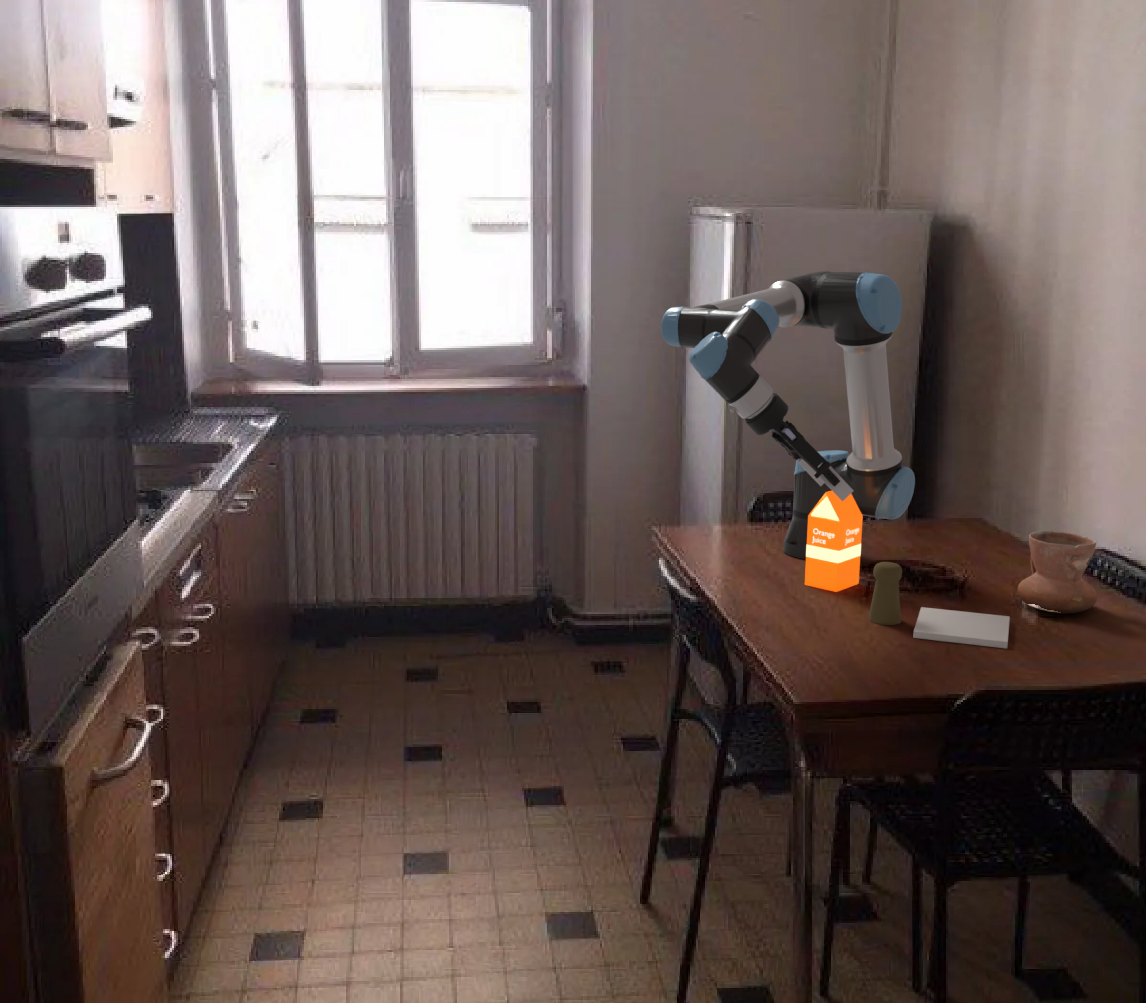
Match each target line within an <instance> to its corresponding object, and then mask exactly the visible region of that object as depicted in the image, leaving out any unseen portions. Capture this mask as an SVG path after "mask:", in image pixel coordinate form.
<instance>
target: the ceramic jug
mask: <svg viewBox="0 0 1146 1003" xmlns="http://www.w3.org/2000/svg"><path fill="white" fill-rule="evenodd" d="M1028 543H1029V544H1028V545H1029V549H1030V550H1029V552H1030V569H1031V575H1029V576H1028V577H1026V578H1024V579H1023V580H1021V581H1020V582H1019V584H1018V585H1017V595H1018V597H1019V599H1020V600H1021V601H1022V602H1023V603H1024V604H1026V605H1027V604H1035V605H1039V606H1040V607H1041V608H1044V609H1047V610H1054V611H1058V612H1061V613H1064V614H1066V615H1067V614H1069V615H1070V614H1077V613H1081V612H1085V611H1087V610H1089V609H1092V607H1094V605H1095V604H1096V603H1097V600H1098V593H1097V591H1096V589H1095V588H1094V587H1093V586H1092V585H1091V584H1090V583H1088V582H1087V581H1086V580H1085V579H1084V578H1083V577H1082V576H1083V574H1084V572H1085V571H1086V569H1087V568H1088V565H1089V564H1090V561H1091V559H1092V557H1093V555H1094V552H1095V549H1096V546H1097V540H1095V539H1094V538H1090V537H1087V536H1084V535H1080V534H1075V533H1070V532H1065V531H1054V530H1041V531H1032V532H1031V533H1030V534H1029V535H1028Z"/></svg>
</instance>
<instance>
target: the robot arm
mask: <svg viewBox="0 0 1146 1003" xmlns="http://www.w3.org/2000/svg"><path fill="white" fill-rule="evenodd" d="M901 314H903V298H902V294H901V291H900V288H899V286H898V284H897V283H896V281H895V280H894V279H893V278H892V277H890V276H889V275H886V274H882V273H874V272H872V271H871V272H869V271H867V272H861V271H860V272H858V271H857V272H853V271H851V272H850V271H849V272H848V271H847V272H845V271H829V270H828V271H827V270H826V271H823V270H822V271H816V272H810V273H805V274H801V275H798V276H794V277H790V278H787V279H782V280H778V281H776V282H775V281H774V283H772V284H771V285H770V286H769V287H768V288H766V289H763V290H759V291H754V292H750V293H747V294H742V295H739V296H734V297H730V298H727V299H721V300H719V301H715V302H711V303H710V302H709V303H707V304H702V305H697V306H689V307H687V306H684V305H683V306H674V307H673V306H672V307H670V308H669V309H667V310H666V311H665V313H664V314H663V317H662V319H661V322H660V323H661V324H660V328H661V329H660V330H661V331H660V332H661V337H662V339H663V341H664V342H665V343H666V344H667V345H669V346H671V347H679V348H681V349H684V348H685V349H686V348H687V349H692V350H691V352H690V354H689V358H688V360H689V362H690V364H691V366H692V367H693V368H694V370H696V372H697V373H698V374H699V376H700V377H701V379H703V380H704V381H705V382H706V383H707V384H708V385H709V386H710V387H711V388H712V389H713V390H714V391H715V392H716V393H717V394H718V395H719V396H720V397H721V398H722V399H723V400H724V401H725V402H726V403H727V404H728V405H729V406H731V408H730V409H729V411H730V413H731V414H733V413H736V414H738V416H739V417H740V418H741V419H745V423H746V424H747V426H748V427H750V429H751V430H752V431H753V432H754V433H755V434H756V435H758V436H762V435H765V434H767V433H769V432H770V433H771V435H770V436H771V438H772V439H774V440H775V442H777V443H778V444H779V445H780V446H781V447H782V448H784V450H785V451H786V452H787V454H788V455H789V456H791V457H792V458H793V459H794V460H795V468H794V472H793V476H794V478H793V479H794V482H793V503H792V505H793V506H792V507H793V509H792V518H791V522H790V524H789V527H788V529H787V532H786V534H785V537H784V540H783V546H782V547H783V549H782V550H783V552H784V553H785V554H786V555H788V556H791V557H794V558H798V559H804V560H806V544H807V530H808V515H809V514H810V513H811V511H812V510H813V509H814V507H815V506H816V505H817V503H818V502H819V501H820V499H821V498H822V497H823V495H824V494H825V493H826V492H829V491H833V492H834V493H835V494H836V495H837V496H838V497H839V499H840V500H841V501H844V500H845V499H846V498H847V497H848V496H849V495H850V494H852V496H853V498H854V500H855V502H856V504H857V506H858V508H859V510H860V512H861V514H862V515H863V516H866V517H871V518H876V519H878V520H880V519H883V520H884V519H886V520H896V519H899V518H900V517H902V515H903V514H904V513H905V512H906V510H907V509H908V507H909V506H910V503H911V501H912V498H913V495H914V490H915V485H916V478H915V472H914V471H913V469H911V468H910V467H908V466H903V456H902V454H901V451H899V450H897V449H896V448H895V446H894V445H895V444H894V435H893V422H892V409H891V407H892V406H891V395H890V384H889V383H890V382H889V381H890V380H889V369H888V359H887V345H886V344H887V343H888V342H889V341H890V340H891V339H892V337H893V335H894V334H893V332H895V331H896V330H897V328H898V327H899V325H900V323H901V320H902V316H901ZM796 326H797V327H798V326H799V327H807V328H808V327H809V328H816V329H817V328H819V329H829V330H833V335H834V336H833V337H834V342H835V344H836V345H837V346H839V347H841V349H842V351H843V352H842V353H843V362H844V372H845V384H846V394H847V404H848V417H849V425H850V427H849V428H850V436H851V448H852V449H851V450H852V452H849V451H847V450H838V449H837V450H820V451H817V449H815V448H814V447H813V446H812V445H811V444H810V443H809V442H808V441H807V439H806V438H805V437H804V436H803V435H802V434H801V433H800V431H798V430H797V428H796V426H795V425H794V424H793V423H792V422H789V421H788V420H786V421H785V420H784V418H785V416H787V414H788V411H789V406H788V404H787V403H786V402H785V401H784V400H783V399H782V398H781V396H780V395H779V394H778V393H775V392H774V389H773V387H772V386H770V384H769V383H768V382H767V381H766V380H765V378H763V376H761V374H759V373H758V372H757V371H756V370H755V368H754V367H753V366H752V364H753V363H754V362H755V361H756V359H757V358H758V357H759V355H760V353H761V352H762V351H763V350H764V348H766V346H767V345H768V344H769V342H771V341H772V339H773V336H774V335H775V333H776V331H777V330H778V328H779V327H780V328H790V327H796ZM849 453H850V454H849Z"/></svg>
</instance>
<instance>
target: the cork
mask: <svg viewBox="0 0 1146 1003" xmlns="http://www.w3.org/2000/svg"><path fill="white" fill-rule="evenodd" d="M872 572H873V577H874V578H875V583H874V587H873V593H872V599H871V603H870V609H869V612H868V619H867V620H868V621H870V622H872V623H874V624H877V625H885V626H891V625H892V626H893V625H899V624H901V623H902V613H901V600H900V599H901V598H900V586H899V581H900V580H901V579H902V576H903V568H902V566H901V565H899V564H898V563H895V562H891V561H880V562H877V563H875V565H874V568H873V570H872Z"/></svg>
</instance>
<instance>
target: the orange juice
mask: <svg viewBox="0 0 1146 1003" xmlns="http://www.w3.org/2000/svg"><path fill="white" fill-rule="evenodd" d="M863 516H864V515H862V514H861V512H860V510H859V508H858V506H857V504H856V502H855V500H854V498H853V496H852V494H850V495H849V496H848V497H847V498H846V499H845V500H844V501H841V500H840V499H839V497H838V496H837V495H836V494H835V493H834V492H833V491H829V492H826V493H825V494H824V495H823V497H822V498H821V499H820V501H819V502H818V503H817V505H816V506H815V507H814V509H813V510H812V511H811V513H810V514H809V515H808V530H807V544H806V559H805V571H804V572H805V573H804V585H805V586H809V587H813V588H816V589H821V590H825V591H829V592H830V591H831V592H835V593H837V592H840V591H842V590H845V589H848V588H850V587H853V586H856V585H858V584H859V581H860V569H861V568H860V567H861V566H860V565H861V554H862V533H863V532H862V531H863V518H864V517H863Z"/></svg>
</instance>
